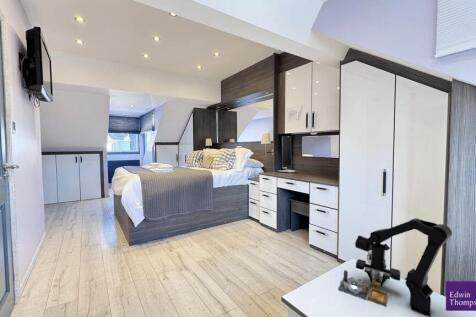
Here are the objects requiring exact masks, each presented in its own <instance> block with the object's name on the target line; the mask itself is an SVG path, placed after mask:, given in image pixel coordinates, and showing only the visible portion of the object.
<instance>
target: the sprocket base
mask: <svg viewBox="0 0 476 317" xmlns="http://www.w3.org/2000/svg"><path fill="white" fill-rule="evenodd" d="M341 281H343V279H342V280H341ZM364 285H366V286H368V290H366V291H367V294H363V293H357V294H354V292H352V291H349V290H347V291H346V290H345V289H344V286H343V285H341V284H340V283H339V286H338V288H337V289H338V291H340V292H343V293H345V294H349V295H351V296H354V297H357V298H359V299H363V300H365V301H366V300H367V296H368V292H369V288H370V285H368V284H365V283H364Z"/></svg>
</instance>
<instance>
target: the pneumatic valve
mask: <svg viewBox="0 0 476 317" xmlns="http://www.w3.org/2000/svg"><path fill="white" fill-rule="evenodd" d="M369 254H371V251H369V252H367V256H366V262H367V264H369V265H371V260H369ZM384 269H387V265H386V263H385V267H384ZM372 275H373V277H381V272H379V271H376V270H372Z"/></svg>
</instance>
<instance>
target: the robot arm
mask: <svg viewBox="0 0 476 317" xmlns="http://www.w3.org/2000/svg"><path fill="white" fill-rule="evenodd" d="M412 230H416V231H418V232H420V233H422V234H423V235H425V236H427V244H426V246H425V248H424V250H423V252H422V255H421V257H420V259H419V262H418V263H417V266H416V268H414V267H413V268H411V269H410V270H409V271H408V272H407V275H406V277H405V278H404V280H405V282H404V283H405V285H406V287H407V288H408V291H409V295H410V296H409V306H410V308H411V310H412V311H415V312H417V313H419V314H422V315H426V316H428V317H431V316H432V313H431V306H432V305H431V303H432V301H431V300H432V298H431V295H432V294H433V293H434V290H433V289H432V288H431V287H430V286H429V285H428V280H429V277H428V276H429V275H428V274H429V272H430V270H431V269H432V266H433V263H434V262H435V260H436V258H437V256H438V254H439V252H440V250H441V248H442V246H443V245H444V244H446V242H447V241H449V239H450V238H451V237H452V235H453V231H452V230H451V228H450V227H449V226H448V225H445V224H441V223H439V224H438V223H436V222H431V221H427V220H423V219H420V218H413V219H410V220H409V221H406V222H404V223H400V224H397V225H395V226H392V227H389V228H380V229H377V230H374V231H371V232H370V233H369V234H370V235H369V237H364V236H363V235H358V236H357V238H356V240H355V243H354V245H355V248H357V249H360V250H362V251H364V252H366V253H368V252H371V254H369V260H371V265H370V264H369V263H367V260H363V259H360V258H359V259H357V260H356V262H355V269H359V270H361V271H363V270H364V273H366V275H367V276H368V279H369V281H370V283H371V285H372V280H373V277H374V275H373V274H372V270H376V271H379V272H380V273H382V278H381V279H382V281H381V289H382V288H383V285H384V283H385V282H386V281H387V280H390V279H392V280H395V281H400V280H401V271H400V269H396V268H392V267H391V268H390V269H388V268H386V269H384V267H385V264H386V259H385V255H386V251H389V250H391V248H390V246H389V245H388V244H387V243H384V244H383V242H385V241H388V240H389V239H390V238H392V237H394V236H397V235H400V234H401V235H402V234H403V233H407V232H409V231H412Z"/></svg>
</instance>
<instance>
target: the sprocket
mask: <svg viewBox="0 0 476 317" xmlns="http://www.w3.org/2000/svg"><path fill="white" fill-rule="evenodd" d="M348 273H349V272H348V270H343V277H342V280H343V281H342V280H340V281H339V285H340V284H341V285H343V286H344V289H345V290H346V291H347V290H349V291H352V292H354V294H357V293H363V294H367V291H366V290H368V286H366V285H367V284H366V285H364V284H365V283H364V282H365V281H363V280H359V279H356V278H355V277H353V276H351V277H348V276H349V275H348ZM368 291H369V290H368ZM367 295H368V294H367Z"/></svg>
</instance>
